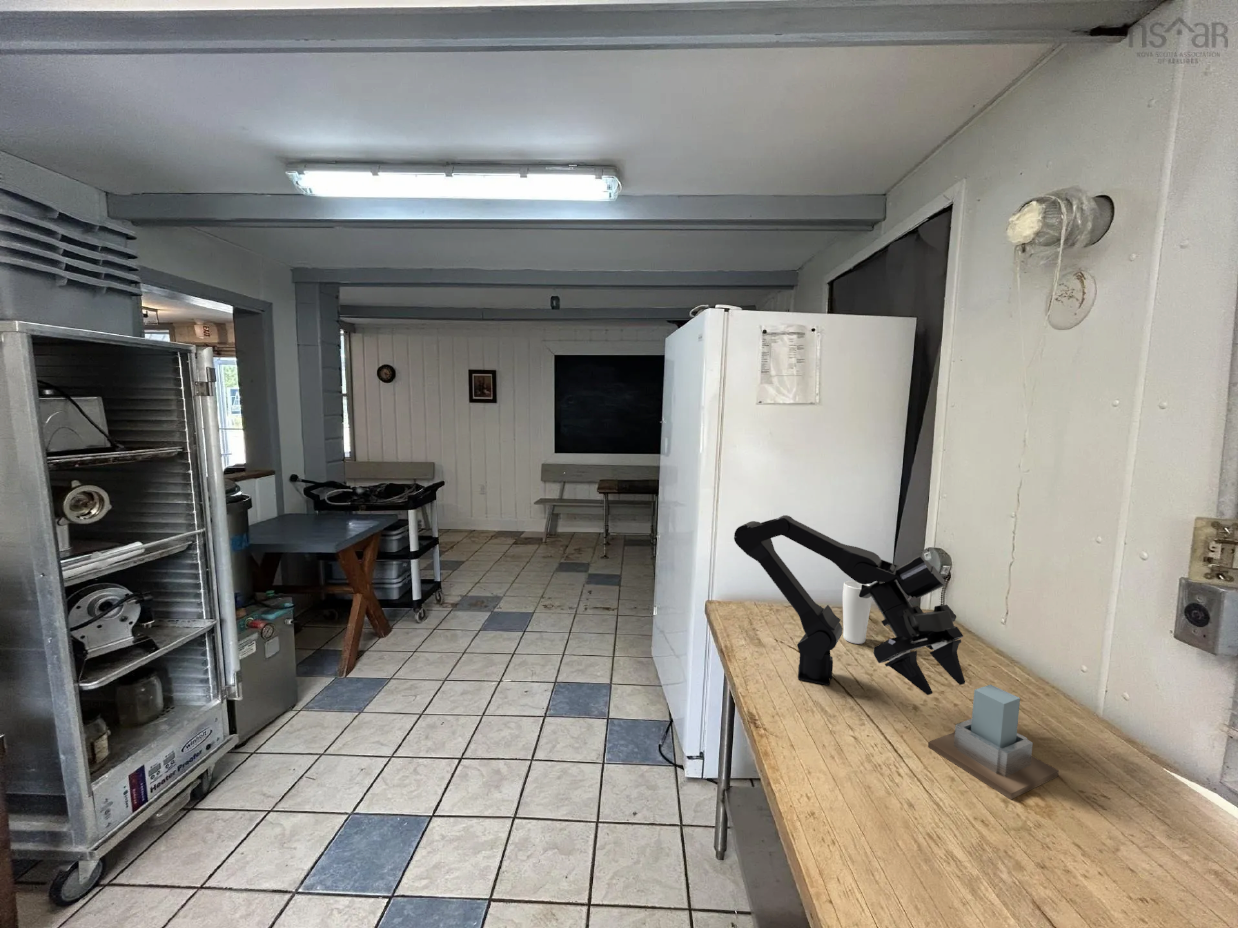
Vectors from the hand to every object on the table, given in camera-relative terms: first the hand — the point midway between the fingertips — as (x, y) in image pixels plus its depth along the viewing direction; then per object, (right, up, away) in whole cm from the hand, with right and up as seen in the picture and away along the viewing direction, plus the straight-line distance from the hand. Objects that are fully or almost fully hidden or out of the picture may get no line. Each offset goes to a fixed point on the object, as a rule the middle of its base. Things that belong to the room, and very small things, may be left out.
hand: (946, 689), depth 90 cm
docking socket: (+3, -9, -7) cm, 12 cm away
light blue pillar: (+3, -8, -7) cm, 11 cm away
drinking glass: (+2, -5, +39) cm, 39 cm away
